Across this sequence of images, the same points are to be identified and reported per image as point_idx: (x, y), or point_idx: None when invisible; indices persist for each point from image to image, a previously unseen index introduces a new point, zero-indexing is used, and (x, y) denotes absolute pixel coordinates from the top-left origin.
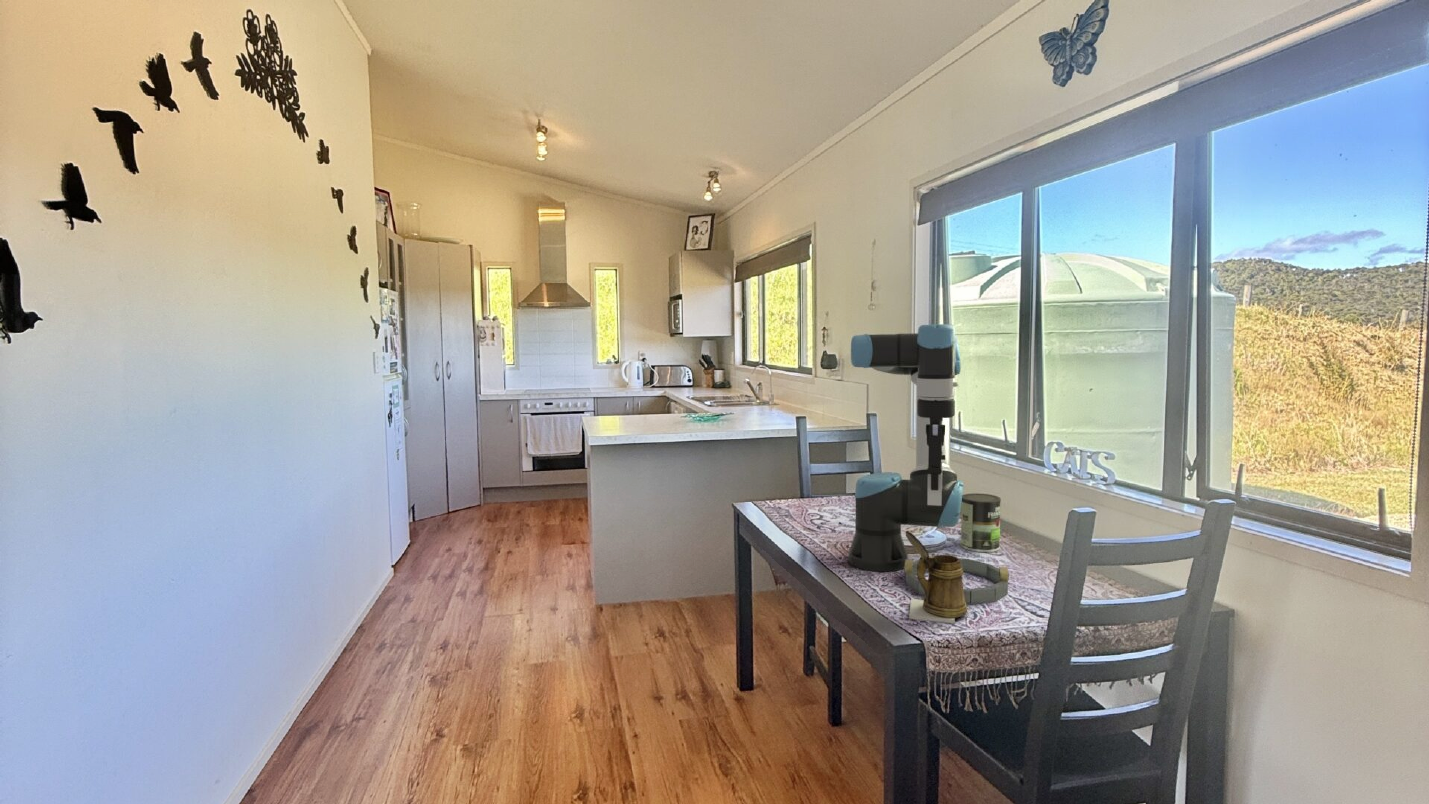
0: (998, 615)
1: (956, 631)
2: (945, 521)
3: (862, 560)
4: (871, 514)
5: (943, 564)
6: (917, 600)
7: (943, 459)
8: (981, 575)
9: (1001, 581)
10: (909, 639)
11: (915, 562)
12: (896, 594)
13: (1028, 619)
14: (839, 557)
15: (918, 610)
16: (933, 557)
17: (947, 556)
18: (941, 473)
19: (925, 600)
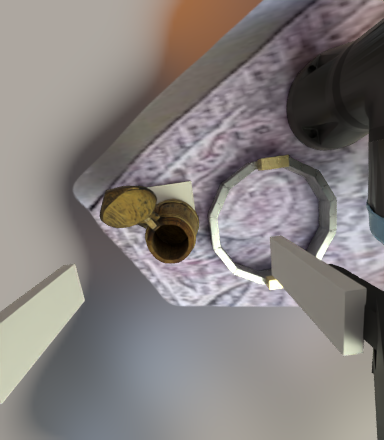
0: (192, 273)
1: (131, 240)
2: (369, 216)
3: (297, 82)
4: (370, 53)
5: (147, 242)
6: (189, 189)
7: (372, 362)
8: (309, 245)
9: (260, 278)
10: (86, 198)
11: (301, 167)
12: (210, 158)
13: (193, 299)
14: (336, 35)
15: (158, 195)
16: (152, 228)
17: (189, 242)
18: (302, 306)
19: (164, 204)
